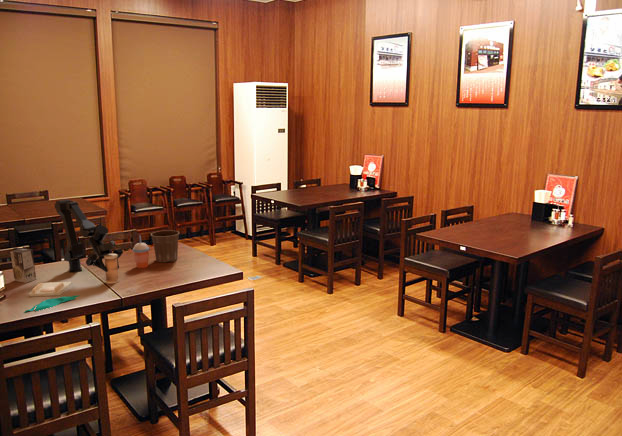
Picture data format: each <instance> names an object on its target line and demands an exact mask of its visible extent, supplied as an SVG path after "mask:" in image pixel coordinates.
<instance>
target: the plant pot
mask: <svg viewBox="0 0 622 436" xmlns="http://www.w3.org/2000/svg"><path fill="white" fill-rule="evenodd" d="M179 236H180V231H178V230H174V229H173V230H170V229H168V230H158V231H157V230H156V231H154V232H152V233H150V237H151V240H152V243H153V247H154V248H153V250H154V254H155V261H156V262H158V263H168V262H170V263H171V262H176V261H178V253H179V252H178V248H179V238H180V237H179Z"/></svg>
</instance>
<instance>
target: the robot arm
mask: <svg viewBox="0 0 622 436" xmlns="http://www.w3.org/2000/svg"><path fill="white" fill-rule="evenodd" d="M54 209H55V210H56V213H57V214H58V215H59V216H60V217H61V221H62V224H63V229H64V233H65V236H66V239H67V240H66V241H67V244H66V248H65V250H66V252H65V254H64V255H63V259H64V261H65V262H68V266H69V268H68V273H75V272H82V271H83V269H82V266H81V260H82V259H84V258H85V248H84V244H83V243H82V242H80V241H79V240H78V236H77V231H76V229H75V224H74V221H73V218H74V220H75V221H76V223H77V224H78V226H79V231H80V234H81V236H82V237H83V238H86V239H87V238H88V239H87V245H91V247H92V250H93V254H90V255H88V257H87V259H86V260H85V265H86V266H87V267H90V266H91V267H92V266H93V267H96V268H98V269H101V270H102V271H104V272H105V273H106V272H108V270H107V268H106V266H105V262H103V259H104V260H105V258H104V255H106V254H117V255H118V257H117V265H118V270H119V268H120V266H119V265H120V264H119V259H120V257H122V255H123V254H124V250H123V248H121V247H120V248H119V247H118V248H116V249H115V247H116V242H115V241H114V240H110V241H109V242H108V243H106V242H103V241H104V239H105V238H106V237H107V235H108V234H109V229H108V227H106V226H104V225H102V224H100V223H99V224H96V225H95V223H94V222H92V221H90V220H89V219H88V218H87V216H86V215H85V214H84V212H83V210H82V209H81V208H80V206H79V203H78V202H77V201H74V200H70V199H69V198H67V199H60V200H56V201H55V203H54ZM112 249H113V251H112Z"/></svg>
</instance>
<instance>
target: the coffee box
mask: <svg viewBox="0 0 622 436" xmlns="http://www.w3.org/2000/svg"><path fill="white" fill-rule="evenodd" d="M33 250H34V249H29V248H23V247H20V248H17V249H14V250H11V251H9V252H10V259H11V265H12V273H13V280H14V281H15V282H20V283H25V284H26V283H29V282H32V281H35V280H36V281H37V276H36V275H37V273H36V265H35V258H34V251H33Z"/></svg>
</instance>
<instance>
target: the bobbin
mask: <svg viewBox="0 0 622 436" xmlns="http://www.w3.org/2000/svg"><path fill="white" fill-rule="evenodd" d="M117 257H118V255H117V254H106V255H104V258H105V259H104V265H105V266H106V268H107V270H108V272H105V283H106V284H109V285H110V284H117V283H119V282H120V279H119V269H118V265H117Z"/></svg>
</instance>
